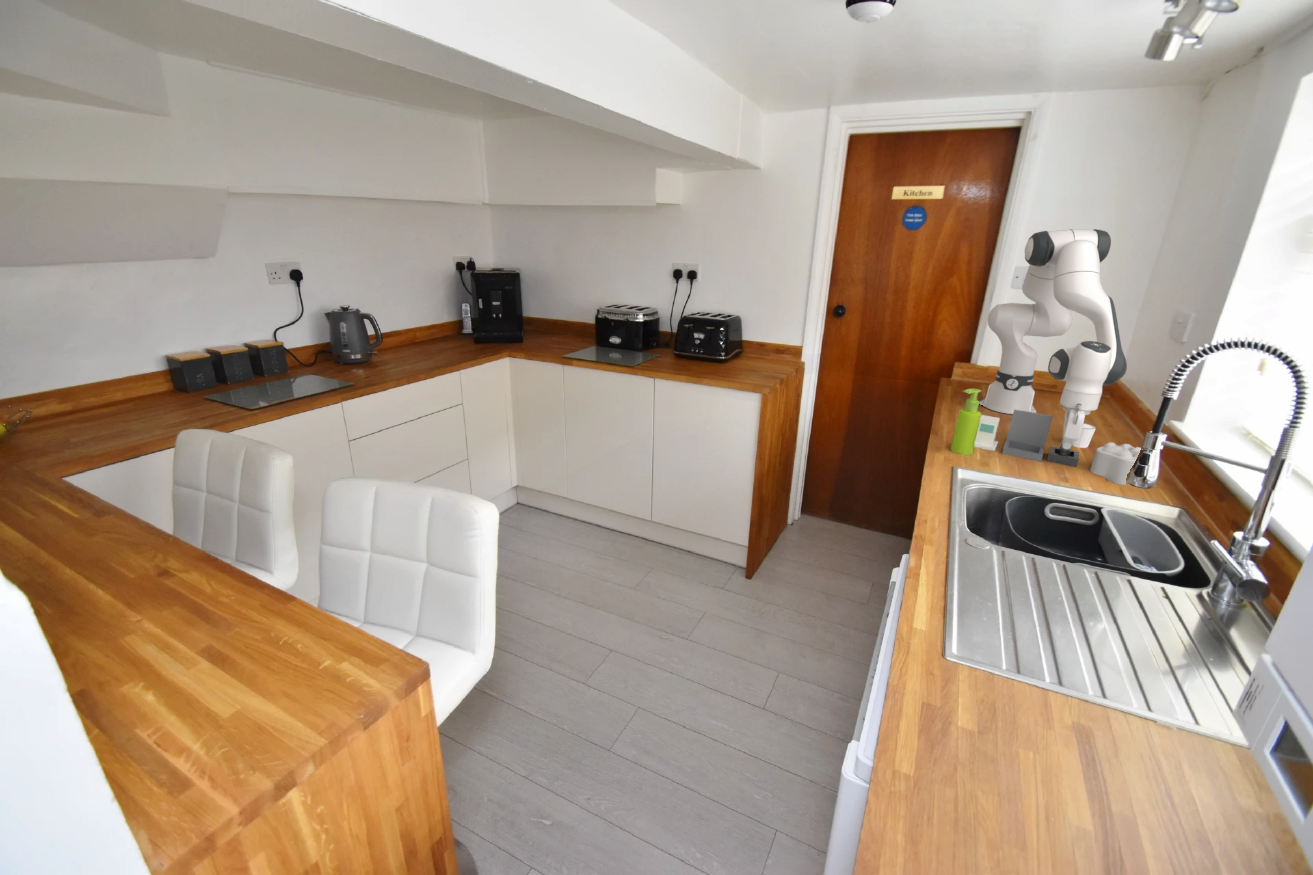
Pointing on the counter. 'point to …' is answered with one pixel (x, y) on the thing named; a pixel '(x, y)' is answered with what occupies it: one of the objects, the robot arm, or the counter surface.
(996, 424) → the block
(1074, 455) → the rod bracket
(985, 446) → the plate
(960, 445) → the soap dispenser
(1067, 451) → the rod
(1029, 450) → the grey device stand
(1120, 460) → the lumpy-topped squat cylinder
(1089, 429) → the white faceted tapered cup
